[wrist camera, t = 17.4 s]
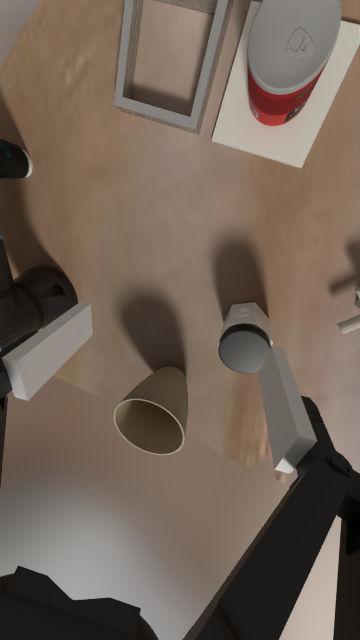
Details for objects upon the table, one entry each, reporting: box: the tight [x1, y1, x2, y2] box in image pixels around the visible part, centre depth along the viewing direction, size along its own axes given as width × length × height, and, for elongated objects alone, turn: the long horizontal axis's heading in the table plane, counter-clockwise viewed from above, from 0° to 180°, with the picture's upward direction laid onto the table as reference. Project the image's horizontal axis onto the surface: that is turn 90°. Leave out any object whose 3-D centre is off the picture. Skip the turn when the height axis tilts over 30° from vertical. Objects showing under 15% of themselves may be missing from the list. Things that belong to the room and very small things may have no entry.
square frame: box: [114, 0, 233, 135], centre depth 31 cm, size 13×13×2 cm
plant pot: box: [114, 366, 188, 455], centre depth 50 cm, size 15×15×16 cm
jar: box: [218, 302, 273, 373], centre depth 40 cm, size 9×8×12 cm
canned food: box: [247, 0, 342, 126], centre depth 25 cm, size 8×8×11 cm
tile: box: [212, 0, 360, 169], centre depth 30 cm, size 14×14×1 cm
